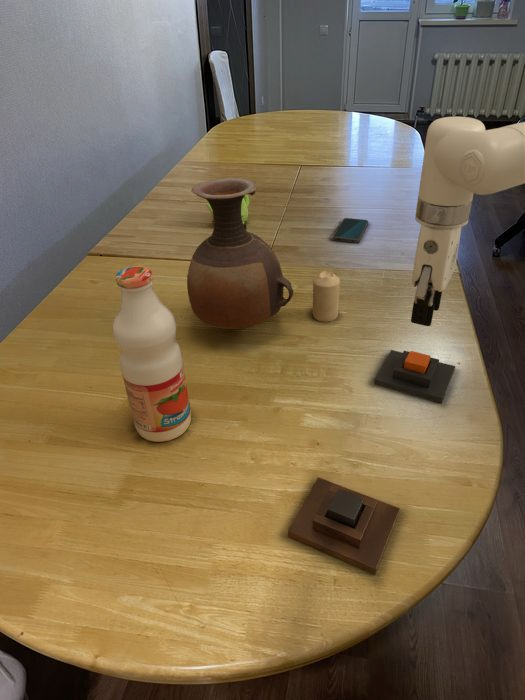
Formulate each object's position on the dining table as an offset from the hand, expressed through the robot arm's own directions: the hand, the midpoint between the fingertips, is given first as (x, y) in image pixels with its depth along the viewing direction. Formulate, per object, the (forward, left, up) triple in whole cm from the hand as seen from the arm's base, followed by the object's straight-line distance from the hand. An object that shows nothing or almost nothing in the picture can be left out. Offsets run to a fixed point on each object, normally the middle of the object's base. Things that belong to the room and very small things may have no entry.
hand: (425, 314), depth 86 cm
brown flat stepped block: (0, +35, -13) cm, 37 cm away
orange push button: (0, 0, -13) cm, 13 cm away
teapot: (+70, -50, -14) cm, 87 cm away
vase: (+38, -1, -14) cm, 40 cm away
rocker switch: (0, +35, -11) cm, 37 cm away
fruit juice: (+34, +30, -14) cm, 47 cm away
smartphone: (+34, -58, -13) cm, 69 cm away
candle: (+23, -13, -14) cm, 30 cm away
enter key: (0, 0, -11) cm, 11 cm away
